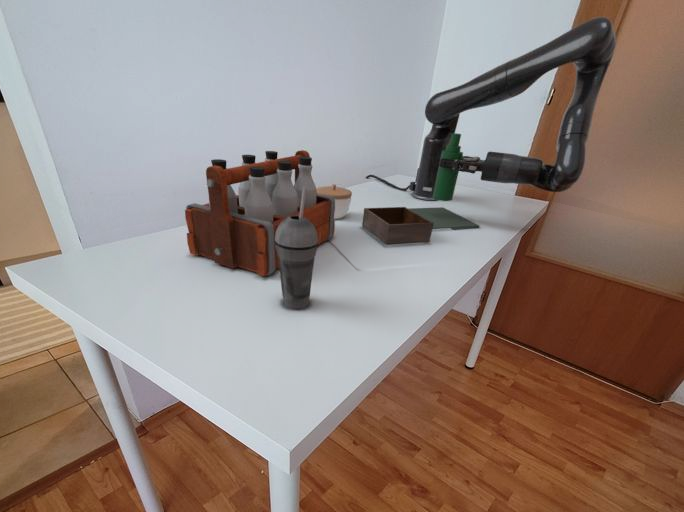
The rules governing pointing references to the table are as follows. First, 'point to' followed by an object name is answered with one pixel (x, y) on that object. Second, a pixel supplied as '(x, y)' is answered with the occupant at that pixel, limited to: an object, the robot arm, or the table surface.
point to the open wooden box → (397, 225)
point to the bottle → (448, 171)
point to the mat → (444, 218)
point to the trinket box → (337, 199)
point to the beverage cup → (296, 257)
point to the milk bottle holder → (255, 210)
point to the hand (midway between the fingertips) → (442, 160)
